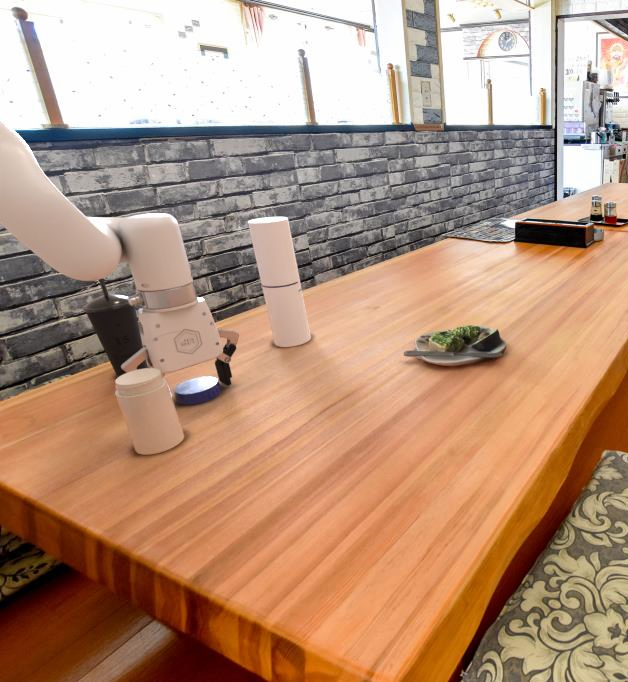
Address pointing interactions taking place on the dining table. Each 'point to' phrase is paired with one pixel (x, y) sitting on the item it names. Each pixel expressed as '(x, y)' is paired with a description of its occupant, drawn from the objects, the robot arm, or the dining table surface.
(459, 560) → the dining table surface
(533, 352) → the dining table surface
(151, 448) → the jar
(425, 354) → the salad plate
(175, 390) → the lid
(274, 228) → the cylindrical container
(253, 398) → the dining table surface
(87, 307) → the drinking cup
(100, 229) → the robot arm
